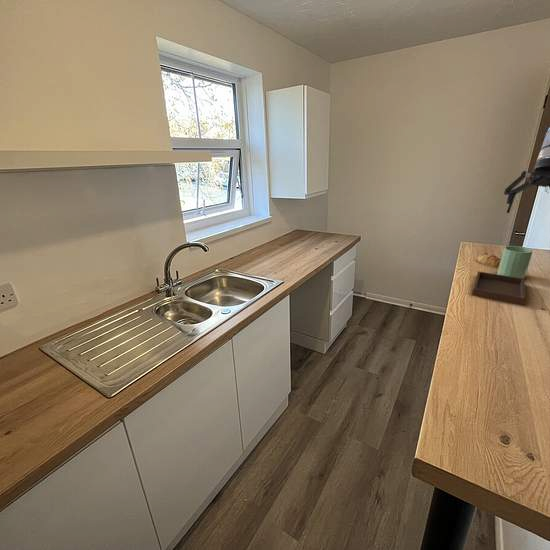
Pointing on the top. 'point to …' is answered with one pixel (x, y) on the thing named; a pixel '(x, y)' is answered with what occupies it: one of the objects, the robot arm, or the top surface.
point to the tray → (500, 288)
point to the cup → (514, 261)
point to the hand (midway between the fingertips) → (531, 214)
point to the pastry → (489, 259)
